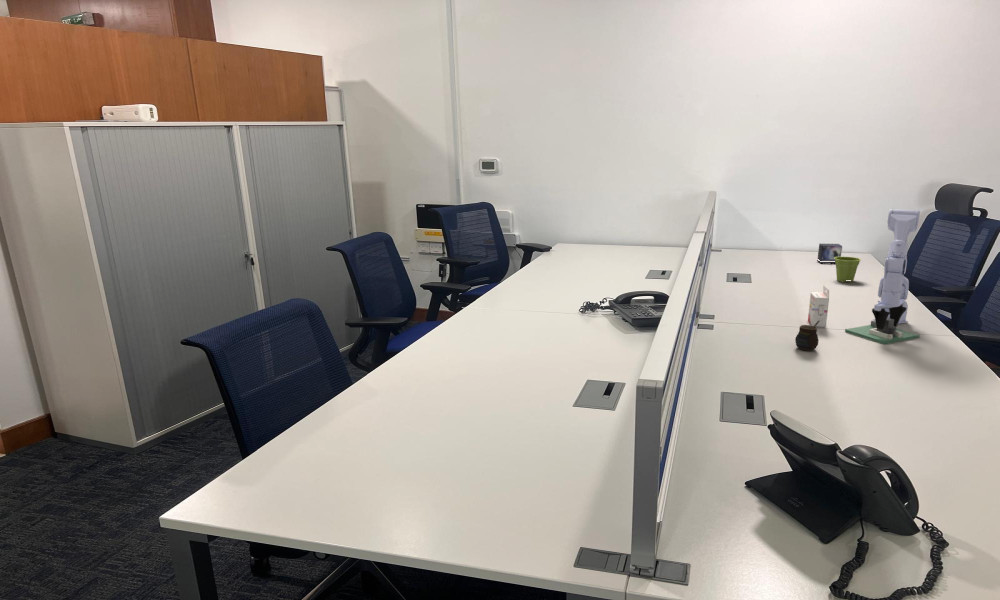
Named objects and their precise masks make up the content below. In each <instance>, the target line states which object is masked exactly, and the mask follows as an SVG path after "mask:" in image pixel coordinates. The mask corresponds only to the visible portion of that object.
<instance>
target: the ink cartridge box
mask: <svg viewBox="0 0 1000 600" xmlns="http://www.w3.org/2000/svg"><path fill="white" fill-rule="evenodd" d="M822 291H823V292H822ZM822 291H821V292H820V291H819V292H816V291H813V292H812V291H811V292H810V295H809V296H810V298H809V306H808V313H807V314H808V315H807V321H808V323H809V324H810V326H814V325H815V324H816V323H817V321H819V323H818V324H817V325H816V326H815V327H816V328H817V327H819V328H826V327H827V321H828V320H827V319H828V312H829V303H830V289H828V288H827V287H826V285H823V288H822Z"/></svg>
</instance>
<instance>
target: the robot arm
mask: <svg viewBox="0 0 1000 600" xmlns="http://www.w3.org/2000/svg"><path fill="white" fill-rule="evenodd" d="M920 213H921V211H920V210H919V209H917V210H915V209H896V208H894V209H893V208H891V209H889V211H888V216H887V228H888V230H889V231H891V232H893V235H894V237H893V241H891V242H890V243H889V246H888V251H887V258H886V257H885V260H884V267H883V274H884V275H883V276H882V277H881V278H880V280H879V281H880V282H879V283H878V291H877V297H878V298H880V299H879V300H877V303H876V304H874V307H873V308H871V313H872V314H873V316H874V318H872V321H873V320H875V321H876V327H877V329H881V330H883V329H884V326H885V322H886V319H887V318H890V319H894V325H893V326H895V327H896V326H898V325H901V324H905V323H908V322H909V321H908V320H907V314H908V308H909V307H908V306H909V304H908V302H907V301H906V300H908V295H909V288H910V287H909V286H910V284H909V283H910V281H909V279H908V278H907V277H906V276H904V275H905V274H906V271H907V264H908V259H907V258H908V256H907V255H908V248H909V245H908V242H907V241H908V237H909V236H910V234H911V233H913V232H917V230H918V226H919V221H920ZM903 271H904V272H903ZM896 328H897V327H896Z"/></svg>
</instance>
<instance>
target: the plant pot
mask: <svg viewBox="0 0 1000 600" xmlns="http://www.w3.org/2000/svg"><path fill="white" fill-rule="evenodd" d="M834 259H835V264H834V265H835V272H836V273H835V274H836V280H837V281H838V282H842V283H847V282H848V283H852V282H854V280H855V276H856V273H857V270H858V267H859V265H860V262H861V261H862V258H859V257H855V256H841V257H834ZM846 280H851V281H846Z"/></svg>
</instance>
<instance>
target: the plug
mask: <svg viewBox="0 0 1000 600" xmlns="http://www.w3.org/2000/svg"><path fill="white" fill-rule="evenodd" d="M893 325H894V319H890V318H887V319H886V322H885V326H884V329H883V330H881V329H877V331H879V332H882V333H886V334H892V335H893V337H895V332H896V329H894V328H893Z"/></svg>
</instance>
